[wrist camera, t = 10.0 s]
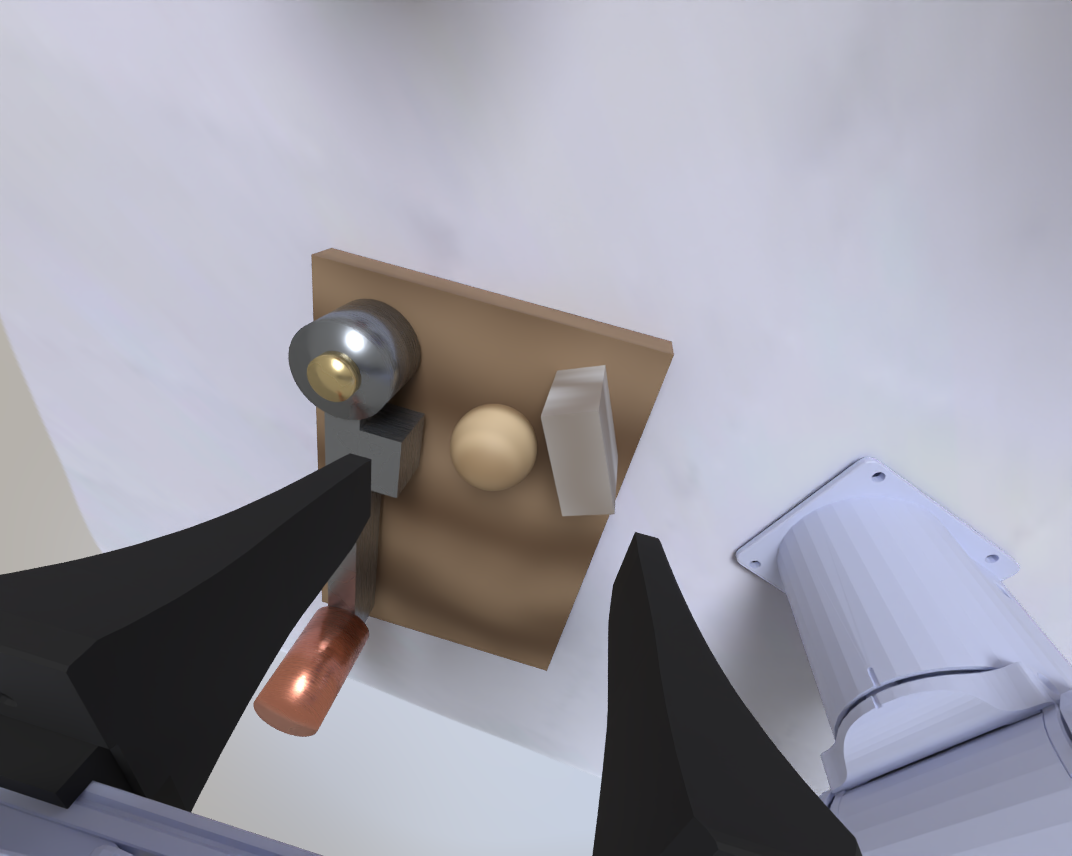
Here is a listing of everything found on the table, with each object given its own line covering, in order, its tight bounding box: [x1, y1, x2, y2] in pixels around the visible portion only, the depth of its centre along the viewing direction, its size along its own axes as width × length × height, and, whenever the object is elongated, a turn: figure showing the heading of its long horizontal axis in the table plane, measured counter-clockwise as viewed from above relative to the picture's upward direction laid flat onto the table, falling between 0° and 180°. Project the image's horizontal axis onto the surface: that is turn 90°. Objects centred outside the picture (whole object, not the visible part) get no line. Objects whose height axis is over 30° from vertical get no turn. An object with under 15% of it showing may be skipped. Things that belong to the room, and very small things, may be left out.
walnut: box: [450, 404, 537, 491], centre depth 20 cm, size 4×4×4 cm
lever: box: [254, 299, 425, 737], centre depth 21 cm, size 20×5×8 cm, turn 168°
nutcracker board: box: [312, 248, 674, 671], centre depth 24 cm, size 22×15×6 cm
